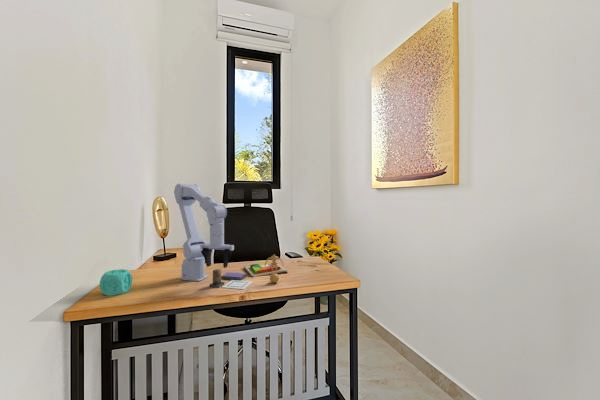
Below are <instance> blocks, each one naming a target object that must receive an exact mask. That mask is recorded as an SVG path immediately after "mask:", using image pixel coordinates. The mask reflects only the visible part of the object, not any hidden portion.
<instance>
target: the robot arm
mask: <svg viewBox="0 0 600 400" xmlns="http://www.w3.org/2000/svg"><path fill="white" fill-rule="evenodd" d="M173 194H174V198H175V201H176V204H177V205H178V207H179V210H180V215H181V219H182V223H183V226H184V230H185V234H186V238H187V239H186V241H185V242H184V243H183V245H182V248H183V250H182V252H183V256H184V259H183V261H182V263H181V278H180V280H182V281H193V282H200V281H203V280H204V279H206V278H208V277H209V274H206V269H205V268H206V267H207V268H208V267H211V266H212V253H213V250H218V251H219V250H221V254H222V258H223V262H222V263H223V265H222V266H223V268H224V269H225V268H227V267H228V264H229V260H230V258H231V256H232V253H233V251H234V250H235V245H234V244H227V243H226V244H225V219H226V217H227V215H228V210H227V207H226V206H225V205H222V204H221V205H220V204H218V203H217V202H216V201H215V200H214V199H213V198H212V197H211V196H205V194H204V193H203V192H202V191H201V188H200V186H199V185H198V184H197V183H194V184H193V183H192V184H191V183H190V184H189V183H188V184H186V183H177V184H176V185H175V187H174V190H173ZM196 201H197V202H199V207H200V208H201V209H202V210H203V211H204V212H205V213H206V216H207V219H208V221H207V222H208V224H209V243H207V242H206V239H205V238H203V237H201V236H200V234H199V230H198V227H197V222H196V219H195V215H194V212H193V211H194V210H193V207H192V206H193V204H195V203H196ZM205 264H206V265H205ZM205 266H206V267H205Z"/></svg>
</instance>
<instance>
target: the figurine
mask: <svg viewBox="0 0 600 400" xmlns="http://www.w3.org/2000/svg"><path fill="white" fill-rule="evenodd" d="M269 260H271V261H272V262H273V263H271V267H272V274H271V275H269V280H270V282H271V283H272V284H276V283H277V282H279V280H280V276H279V274H278V273H276V270H277V263H278V262H277V260H280V262H281V264H282V267H283V266H284V262H283V260H282V258H280V257H279V256H276V254H273V255H271V256H270V257H268V258H267V259H266V261H265V262H266V263H267V262H269ZM265 262H264V263H265ZM266 263H265V266H266ZM274 265H275V267H276V269H275V274H274V273H273V267H274Z"/></svg>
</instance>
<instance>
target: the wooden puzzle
mask: <svg viewBox="0 0 600 400" xmlns="http://www.w3.org/2000/svg"><path fill="white" fill-rule="evenodd" d="M265 263H266V261H265V262H261V263H260V262H259V263H254V264H250V266H246V265H243V268H244V270H246V271H247V272H248V274H249V275H250V277H252V278H257V277H263V276H265V277H266V276H271V275H272V267H271V263H273V262H272V260H271V261H267V263H266V266H265ZM276 263H277V270H276V273H277V274H279V273H286V274H288V273H289V271H288V270H287V269H286V268H284V267H283V266H282V265H280V264H279V263H278V262H276ZM275 269H276V267H275V265H274V267H273V273H274V274H275Z"/></svg>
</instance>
